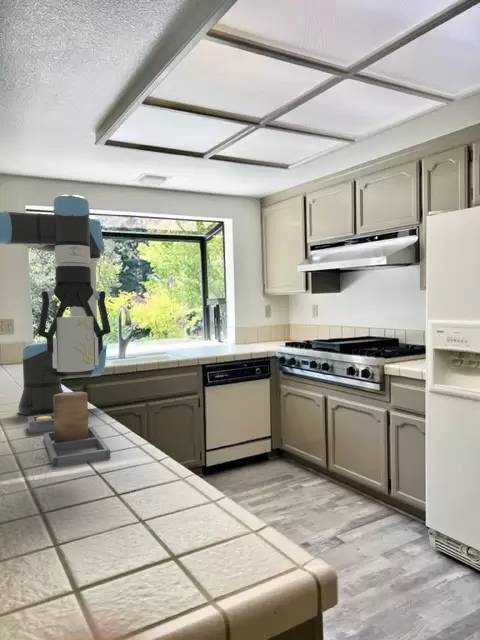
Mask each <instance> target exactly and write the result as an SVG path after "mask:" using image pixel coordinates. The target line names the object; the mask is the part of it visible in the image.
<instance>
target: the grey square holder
mask: <svg viewBox="0 0 480 640" xmlns="http://www.w3.org/2000/svg"><path fill="white" fill-rule="evenodd" d="M43 416H51V417H52V419H47V420H38V421H36V418H38V417H43ZM27 430H28V434H29V435H33V434H39V433H40V434H44V433H48V432H54V413H48V414H38V415H28V416H27Z"/></svg>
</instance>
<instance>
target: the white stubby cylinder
mask: <svg viewBox="0 0 480 640" xmlns="http://www.w3.org/2000/svg"><path fill="white" fill-rule="evenodd" d="M55 338H56V339H57V361H58V368H57V371H58V372H81V371H89V370H93V369H95V358H94V326H93V316H91V317H88V316H73V317H70V316H62V317H57V329H56V331H55Z"/></svg>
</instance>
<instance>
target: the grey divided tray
mask: <svg viewBox="0 0 480 640" xmlns="http://www.w3.org/2000/svg"><path fill="white" fill-rule="evenodd" d="M88 434H89V436H90V437H89V438H88V439H81V440H74V441H66V442H59V443H55V442H53V441H52V440H55V439H54V431H51V432H43V442H44V444H45V447H46V451H47V453H48V457H49V459H50V460H49V461H50V462H51V466H52V468H58V467H62V466H68V465H75V464H82V463H87V462H94V461H100V460H101V461H102V460H106V459H107V460H108V459H111V449H110V448H109V446H108V445H107V444H106V443H105V441H104V440H103V439H102V437H101V436H100V435H99V433H98V432H97V431H96V429H94V426H90V427H89V426H88Z"/></svg>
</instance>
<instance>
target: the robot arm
mask: <svg viewBox="0 0 480 640" xmlns="http://www.w3.org/2000/svg"><path fill="white" fill-rule="evenodd" d="M89 205H90V203H89V200H88V199H87V198H86V197H84V196H80V195H74V194H62V195H61V194H60V195H57V196H55V198H54V200H53V209H52V212H53V213H51V212H48V213H47V212H26V211H24V212H23V211H8V210H3V211H0V244H3V245H24V246H25V247H28V248H31V249H37V250H40V251H45V252H46V251H47V252H52V253H53V252H54V262H55V264H56V265H57V266H56V267H55V287H54V289H53V290H48V291H46V290H44V291H41V293H40V295H41V301H42V303H41V304H42V305H41V309H40V310H41V311H40V317H39V322H38V329H37V335H38V336H39V337H43V338H45V339H46V340H44V341H39V342H33V343H28V344H27V345H25V346H23V349H22V358H21V359H22V372H23V373H22V374H23V375H22V377H23V379H22V380H23V390H22V394H21V397H20V401H19V404H18V414H20V415H24V416H38V415H47V414H54V406H53V396H54V395H56V394H59V393H65V392H64V390H63V387H62V379H70V378H73V379H74V378H91V377H99V376H102V375H103V374H104V372H105V367H106V361H107V360H106V358H107V349H108V347H107V346H108V344H107V342H105V341H104V339H103V337H104V336H106V335H108V334H110V333H111V326H110V321H109V315H108V311H107V307H106V302H105V300H106V292H105V291H104V290H102V291H100V290H97V265H96V264H97V263H98V261H99V260H100V259H101V254H104V253H105V244H104V238H103V232H102V231H103V230H102V226H101V221H100V218H98V217H96V216H92V215H90V207H89ZM53 296H55V297H56V298H57V300H58V301H59V302H60V303H59V305H58V307H57V310H56V312H55V315H54V318H53V319H52V321H51V324H50V325H49V329H48V331H46V326H47V322H48V321H47V319H48V314H49V308H50V301H52V300H53ZM67 308H69V313H70V314H69V315H70V316H69V317H73V316H88V317H91V316H93V326H94V358H95V369H93V370H89V371H81V372H58V371H57V368H58V361H57V339H56V337H54V335H56V329H57V317H64V316H63V315H64V314H65V311H66V309H67ZM98 313H99V316H100V321H101V327H102V328H101V327H100V325H99V323H98Z"/></svg>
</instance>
